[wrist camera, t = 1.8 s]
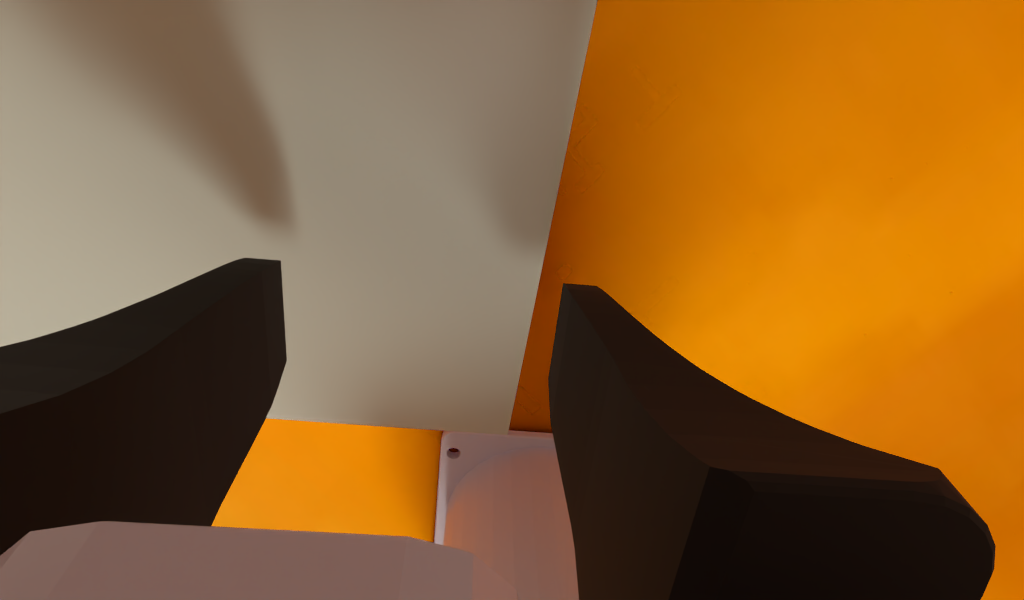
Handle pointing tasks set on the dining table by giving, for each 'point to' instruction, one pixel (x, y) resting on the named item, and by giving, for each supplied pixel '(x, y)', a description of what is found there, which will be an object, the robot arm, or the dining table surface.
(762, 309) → the dining table surface
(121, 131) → the box lid
